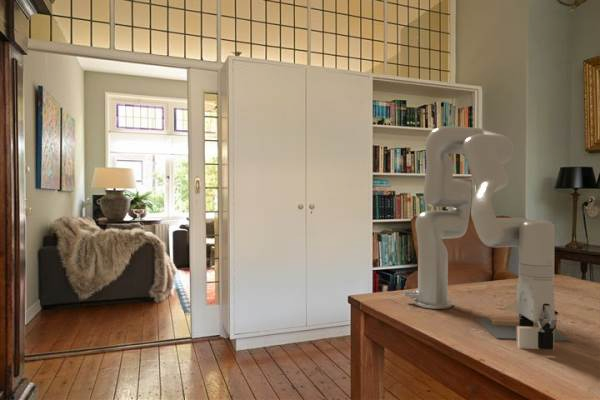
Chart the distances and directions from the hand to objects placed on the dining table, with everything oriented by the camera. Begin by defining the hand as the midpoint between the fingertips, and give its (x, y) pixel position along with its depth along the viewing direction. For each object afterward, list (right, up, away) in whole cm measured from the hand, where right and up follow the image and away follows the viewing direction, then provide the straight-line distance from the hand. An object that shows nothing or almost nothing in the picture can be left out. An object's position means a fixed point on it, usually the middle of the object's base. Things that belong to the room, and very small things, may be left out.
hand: (535, 341), depth 99 cm
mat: (+3, -1, +13) cm, 13 cm away
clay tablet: (+17, -2, +32) cm, 36 cm away
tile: (0, -2, 0) cm, 2 cm away
